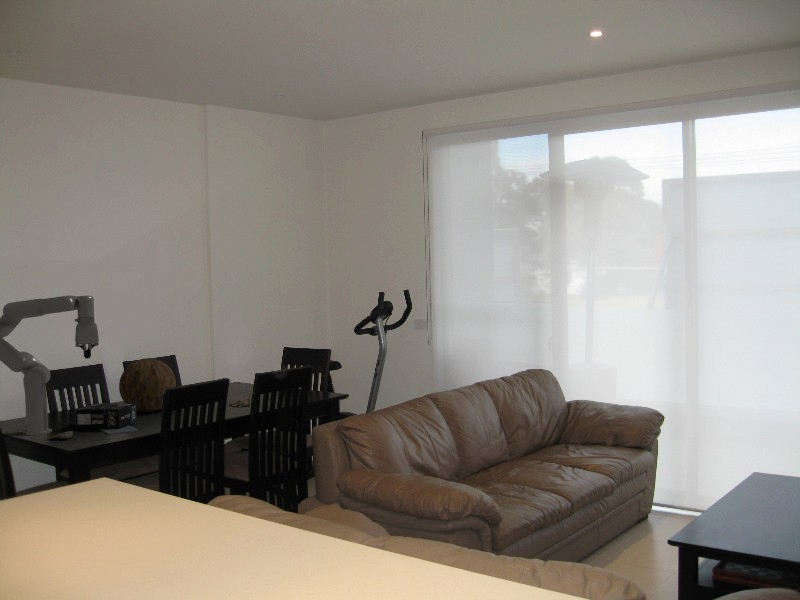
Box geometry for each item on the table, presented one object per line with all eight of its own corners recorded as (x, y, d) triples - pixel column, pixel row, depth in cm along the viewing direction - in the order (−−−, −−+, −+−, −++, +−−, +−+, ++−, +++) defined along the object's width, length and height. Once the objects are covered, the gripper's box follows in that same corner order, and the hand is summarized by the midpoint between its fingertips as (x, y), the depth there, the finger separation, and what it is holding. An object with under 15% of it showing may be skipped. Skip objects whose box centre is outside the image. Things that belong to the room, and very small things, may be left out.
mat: (108, 434, 370) (108, 433, 370) (95, 427, 390) (95, 426, 390) (138, 431, 378) (138, 429, 378) (123, 424, 398) (123, 423, 398)
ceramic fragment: (63, 436, 359) (47, 432, 363) (62, 443, 359) (47, 438, 364) (81, 432, 369) (66, 428, 373) (81, 438, 369) (66, 434, 373)
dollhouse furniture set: (244, 404, 456) (244, 385, 456) (262, 405, 449) (261, 386, 449) (229, 407, 445) (228, 388, 445) (246, 409, 438) (245, 389, 438)
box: (120, 429, 381) (137, 422, 400) (119, 408, 381) (136, 402, 400) (74, 429, 383) (93, 422, 402) (74, 409, 383) (93, 402, 402)
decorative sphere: (163, 417, 417) (161, 360, 417) (110, 417, 421) (108, 361, 420) (185, 407, 447) (183, 355, 447) (135, 408, 451) (133, 356, 450)
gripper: (71, 321, 376) (73, 360, 376) (104, 320, 385) (105, 357, 385) (68, 321, 382) (69, 359, 383) (100, 319, 391) (101, 356, 391)
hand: (87, 358), depth 384 cm, fingers closed
